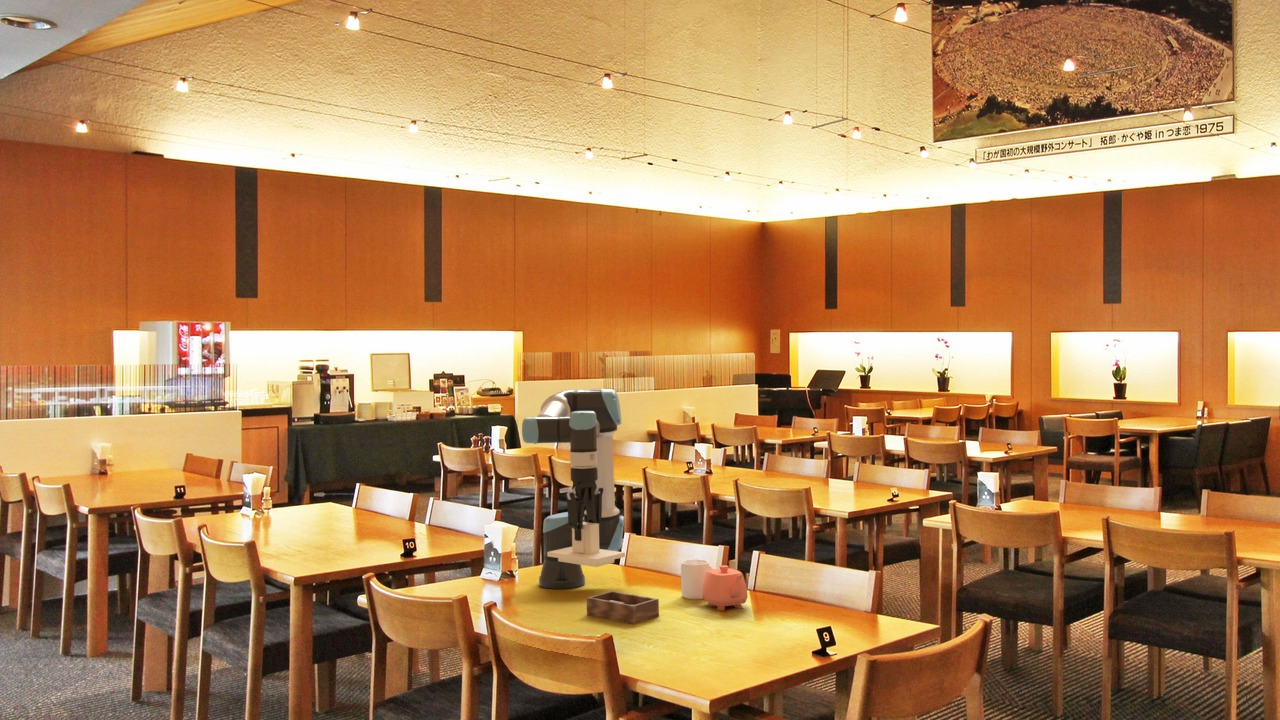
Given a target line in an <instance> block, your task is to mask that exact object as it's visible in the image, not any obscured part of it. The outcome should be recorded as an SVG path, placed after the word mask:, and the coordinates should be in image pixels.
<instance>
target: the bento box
mask: <svg viewBox="0 0 1280 720" xmlns="http://www.w3.org/2000/svg"><path fill="white" fill-rule="evenodd" d="M659 602H660V600H659V598H655V597H650V596H643V595H638V594H631V593H627V592H625V593H624V592H620V591H616V590H615V591H614V590H610V591H607V592H603V593H600V594H596V595H593V596H592V595H591V596H587V597H586V616H590V617H596V618H601V619H606V620H610V621H616V622H621V623H626V624H631V625H636V624H638V623H639V624H640V623H643V622H645V621H650V620H652V619H655V618H658V617H660V609H659V608H660V603H659Z"/></svg>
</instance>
